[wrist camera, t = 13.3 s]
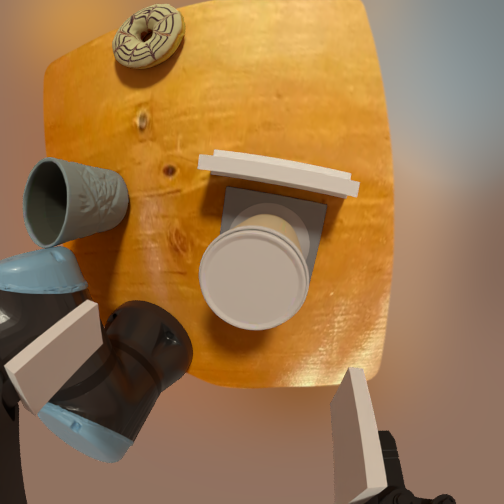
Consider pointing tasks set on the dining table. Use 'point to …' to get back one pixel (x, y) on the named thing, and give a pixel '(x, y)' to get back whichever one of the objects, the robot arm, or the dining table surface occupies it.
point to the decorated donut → (158, 46)
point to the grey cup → (71, 201)
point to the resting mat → (290, 209)
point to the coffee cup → (255, 273)
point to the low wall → (280, 172)
